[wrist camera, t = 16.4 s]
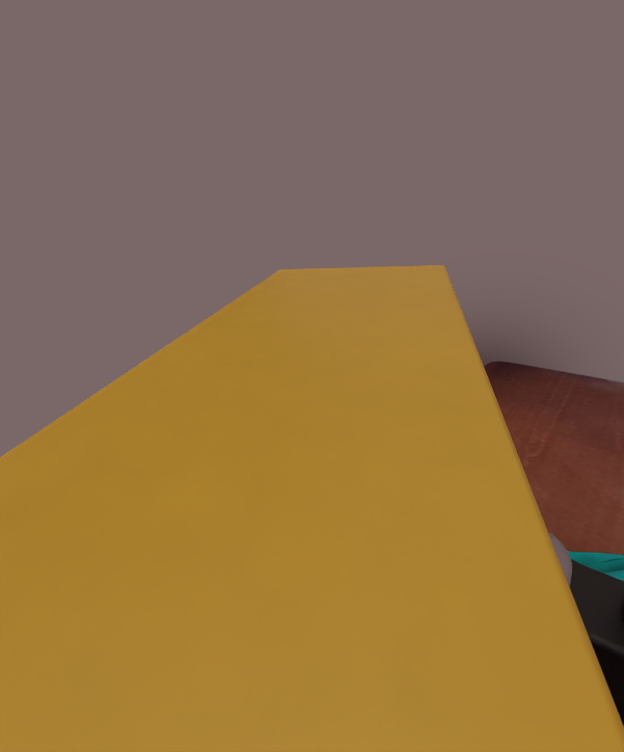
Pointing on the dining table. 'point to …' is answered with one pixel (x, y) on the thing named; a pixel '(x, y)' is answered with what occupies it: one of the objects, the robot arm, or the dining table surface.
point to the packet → (292, 545)
